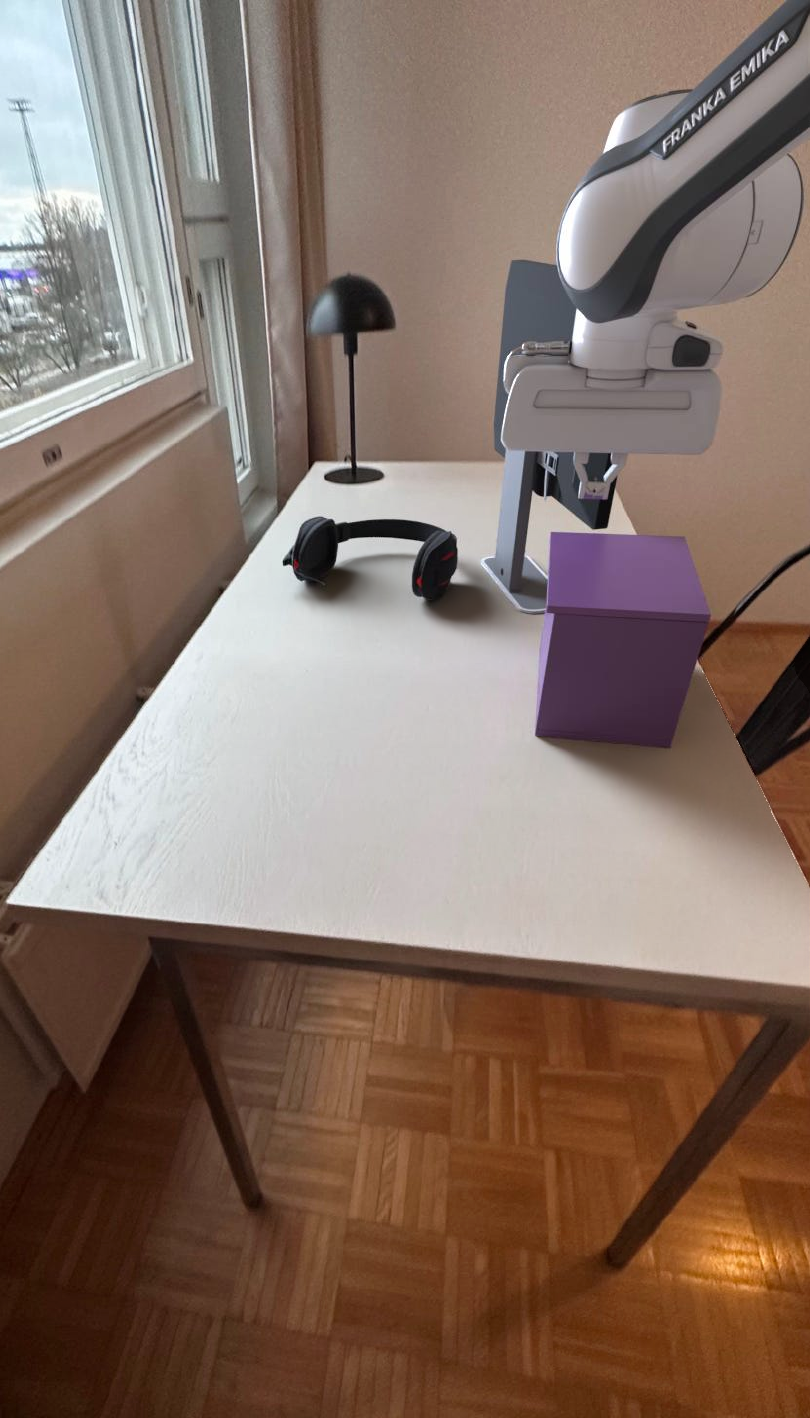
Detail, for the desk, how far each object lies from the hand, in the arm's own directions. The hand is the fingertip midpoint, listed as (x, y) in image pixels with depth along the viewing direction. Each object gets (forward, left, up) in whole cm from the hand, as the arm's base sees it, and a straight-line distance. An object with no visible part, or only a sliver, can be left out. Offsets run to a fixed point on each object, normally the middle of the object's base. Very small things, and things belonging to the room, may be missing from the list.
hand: (592, 497), depth 77 cm
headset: (+30, -30, -23) cm, 49 cm away
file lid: (-4, 0, -8) cm, 9 cm away
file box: (-5, 0, -23) cm, 24 cm away
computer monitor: (+6, -33, -23) cm, 41 cm away
